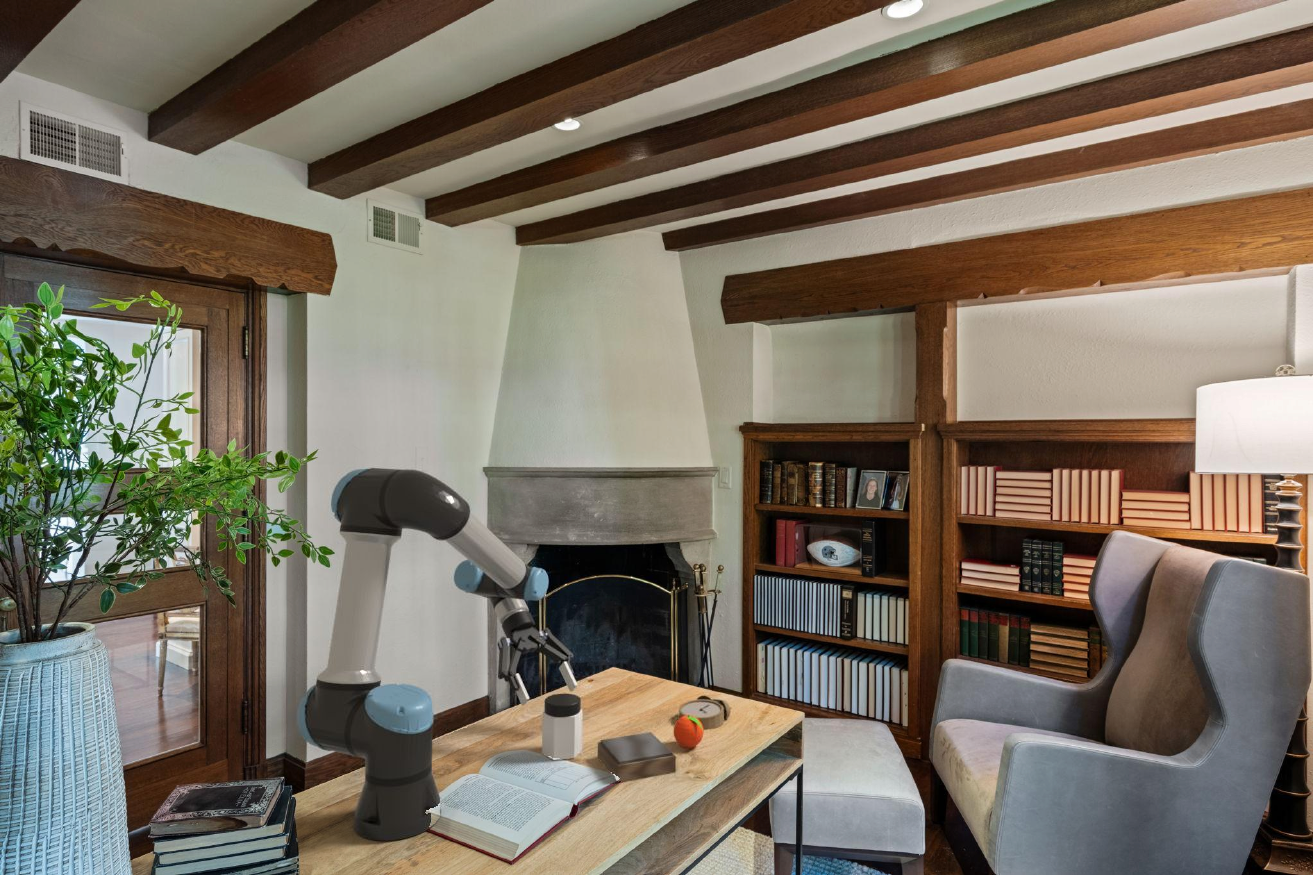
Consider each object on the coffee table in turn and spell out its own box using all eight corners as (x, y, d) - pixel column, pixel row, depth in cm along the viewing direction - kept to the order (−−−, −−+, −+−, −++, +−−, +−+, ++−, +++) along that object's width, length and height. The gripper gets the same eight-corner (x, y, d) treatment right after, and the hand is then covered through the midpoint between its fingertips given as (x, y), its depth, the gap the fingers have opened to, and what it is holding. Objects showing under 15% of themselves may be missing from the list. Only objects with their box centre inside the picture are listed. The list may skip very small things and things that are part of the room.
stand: (618, 782, 151) (618, 763, 151) (597, 757, 163) (597, 739, 163) (675, 772, 156) (675, 753, 156) (651, 748, 168) (651, 730, 168)
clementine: (713, 748, 169) (713, 716, 169) (692, 756, 164) (692, 724, 164) (687, 737, 175) (687, 707, 175) (667, 746, 170) (667, 715, 170)
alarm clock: (669, 711, 184) (703, 686, 196) (671, 730, 185) (705, 703, 196) (705, 722, 177) (739, 695, 189) (707, 741, 178) (741, 713, 189)
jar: (579, 743, 171) (579, 691, 171) (584, 758, 163) (585, 703, 163) (540, 747, 169) (540, 694, 169) (543, 762, 161) (544, 707, 161)
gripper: (550, 618, 193) (585, 691, 182) (464, 635, 175) (497, 716, 164) (562, 601, 189) (599, 674, 178) (476, 617, 171) (510, 699, 161)
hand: (550, 695), depth 171 cm, fingers open, 13 cm apart
